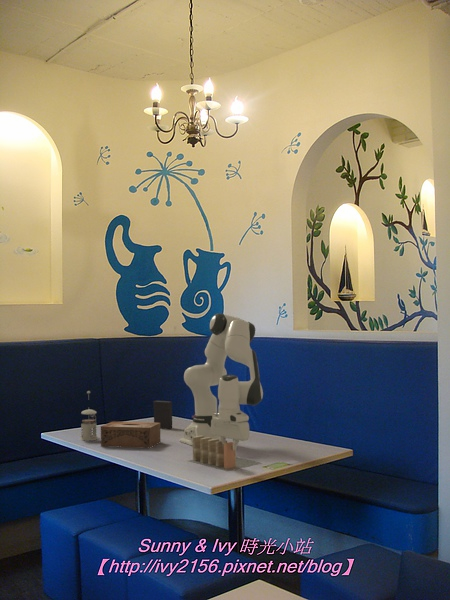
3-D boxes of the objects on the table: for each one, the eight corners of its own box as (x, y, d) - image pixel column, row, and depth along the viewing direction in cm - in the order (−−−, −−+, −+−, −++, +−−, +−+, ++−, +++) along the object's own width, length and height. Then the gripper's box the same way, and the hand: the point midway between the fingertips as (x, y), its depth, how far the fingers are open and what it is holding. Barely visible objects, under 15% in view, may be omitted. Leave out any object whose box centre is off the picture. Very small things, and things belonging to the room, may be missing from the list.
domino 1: (193, 460, 274) (192, 437, 275) (201, 458, 278) (201, 435, 278) (195, 460, 273) (195, 437, 273) (204, 459, 277) (204, 435, 277)
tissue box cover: (100, 446, 312) (100, 426, 313) (112, 441, 326) (112, 421, 327) (150, 448, 306) (150, 427, 306) (160, 442, 320) (160, 422, 320)
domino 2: (200, 462, 271) (200, 438, 271) (209, 460, 274) (209, 437, 274) (202, 462, 270) (202, 439, 270) (211, 460, 273) (211, 437, 273)
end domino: (224, 468, 260) (223, 443, 260) (232, 466, 263) (232, 441, 263) (226, 468, 258) (226, 444, 259) (235, 466, 262) (235, 442, 262)
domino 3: (208, 464, 267) (207, 440, 267) (217, 462, 270) (216, 438, 271) (210, 464, 266) (210, 440, 266) (219, 462, 269) (219, 439, 269)
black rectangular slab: (173, 428, 361) (172, 401, 361) (168, 429, 357) (168, 402, 357) (157, 426, 366) (157, 400, 367) (153, 427, 363) (153, 401, 363)
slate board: (186, 463, 274) (186, 460, 274) (221, 455, 287) (221, 453, 287) (227, 473, 254) (227, 471, 254) (262, 465, 268) (262, 463, 268)
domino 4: (215, 466, 263) (215, 441, 264) (224, 464, 267) (224, 440, 267) (218, 466, 262) (218, 442, 262) (227, 464, 265) (227, 440, 266)
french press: (76, 440, 328) (75, 391, 329) (86, 436, 339) (85, 389, 340) (93, 441, 326) (93, 392, 326) (103, 436, 337) (102, 389, 337)
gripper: (206, 413, 267) (207, 446, 266) (240, 418, 252) (240, 453, 251) (218, 411, 271) (218, 444, 271) (251, 416, 256) (252, 451, 255)
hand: (229, 448), depth 261 cm, fingers open, 4 cm apart
